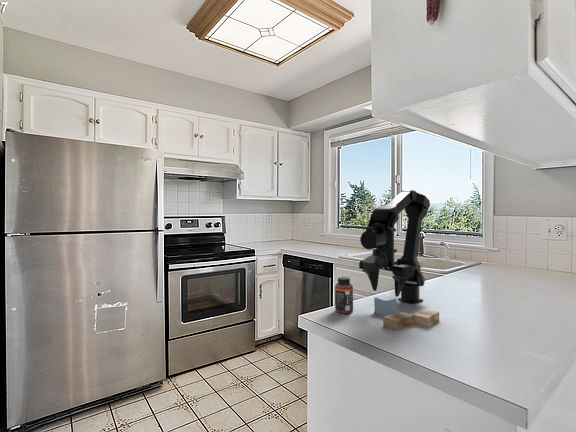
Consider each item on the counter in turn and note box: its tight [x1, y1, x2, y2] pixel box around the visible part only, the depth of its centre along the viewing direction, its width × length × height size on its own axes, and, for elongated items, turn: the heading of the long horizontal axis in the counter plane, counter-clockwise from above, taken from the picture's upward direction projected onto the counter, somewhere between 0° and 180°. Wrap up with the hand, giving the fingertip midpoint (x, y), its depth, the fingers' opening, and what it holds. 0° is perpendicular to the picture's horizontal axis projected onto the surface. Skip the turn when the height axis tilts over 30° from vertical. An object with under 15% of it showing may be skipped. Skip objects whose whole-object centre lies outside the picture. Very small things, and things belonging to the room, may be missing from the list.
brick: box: [412, 308, 440, 328], centre depth 99 cm, size 8×4×3 cm, turn 134°
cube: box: [373, 294, 398, 316], centre depth 109 cm, size 5×5×5 cm
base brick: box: [382, 311, 415, 331], centre depth 97 cm, size 8×4×3 cm, turn 123°
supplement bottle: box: [334, 276, 354, 314], centre depth 111 cm, size 6×6×11 cm
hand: (385, 293), depth 109 cm, fingers open, 9 cm apart
